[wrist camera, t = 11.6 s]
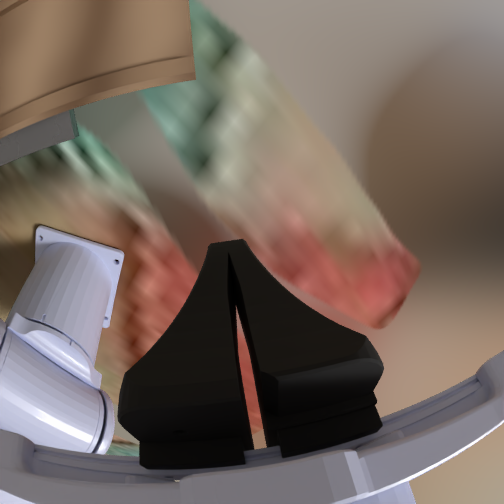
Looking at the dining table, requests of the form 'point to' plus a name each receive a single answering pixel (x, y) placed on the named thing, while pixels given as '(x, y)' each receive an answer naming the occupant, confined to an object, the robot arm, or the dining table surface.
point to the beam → (87, 53)
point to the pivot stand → (38, 136)
